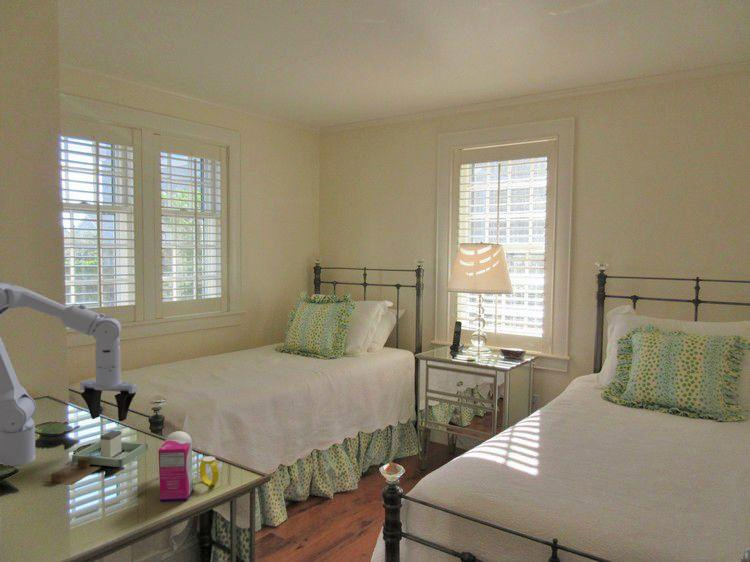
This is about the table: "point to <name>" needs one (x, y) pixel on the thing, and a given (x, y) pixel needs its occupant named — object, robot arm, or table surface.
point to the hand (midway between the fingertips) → (109, 418)
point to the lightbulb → (178, 436)
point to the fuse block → (72, 473)
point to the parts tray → (107, 461)
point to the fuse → (111, 444)
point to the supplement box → (175, 470)
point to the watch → (211, 462)
